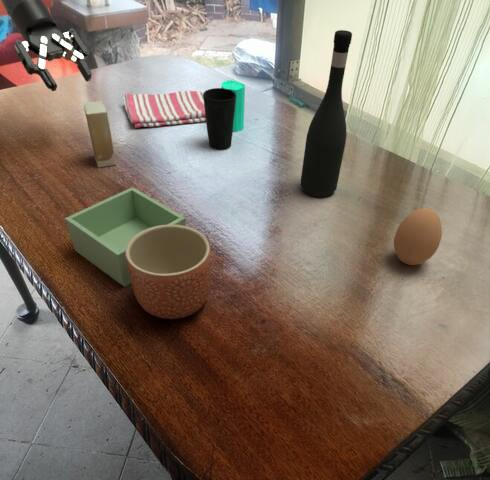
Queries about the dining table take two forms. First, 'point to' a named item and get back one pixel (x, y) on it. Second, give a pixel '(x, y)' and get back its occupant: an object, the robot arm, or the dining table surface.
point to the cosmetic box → (100, 133)
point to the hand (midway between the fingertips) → (72, 84)
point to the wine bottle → (327, 129)
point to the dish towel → (165, 108)
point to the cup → (219, 117)
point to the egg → (418, 236)
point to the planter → (169, 270)
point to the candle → (237, 102)
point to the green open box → (116, 229)
